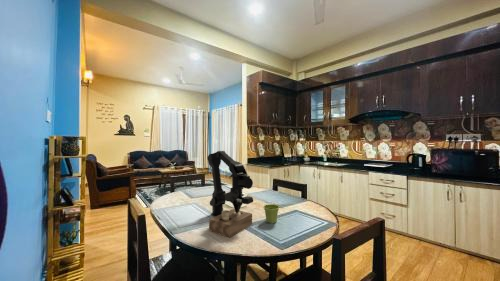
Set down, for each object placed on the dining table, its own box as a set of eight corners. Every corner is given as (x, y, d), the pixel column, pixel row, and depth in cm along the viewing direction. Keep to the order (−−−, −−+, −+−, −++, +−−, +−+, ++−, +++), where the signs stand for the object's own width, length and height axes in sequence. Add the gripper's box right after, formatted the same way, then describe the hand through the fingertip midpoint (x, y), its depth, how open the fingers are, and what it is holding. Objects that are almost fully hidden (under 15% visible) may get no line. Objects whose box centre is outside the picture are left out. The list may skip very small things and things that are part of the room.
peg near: (220, 221, 107) (220, 211, 107) (225, 219, 110) (225, 209, 111) (225, 223, 105) (225, 213, 105) (230, 220, 108) (230, 211, 108)
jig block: (209, 230, 108) (209, 219, 108) (233, 218, 124) (233, 208, 124) (229, 237, 100) (229, 225, 100) (252, 224, 116) (252, 213, 116)
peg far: (232, 222, 115) (232, 213, 115) (236, 219, 119) (236, 211, 119) (237, 223, 113) (237, 214, 113) (242, 221, 116) (242, 212, 116)
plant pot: (266, 225, 115) (266, 209, 115) (261, 219, 124) (261, 204, 124) (281, 223, 117) (281, 208, 117) (275, 217, 126) (275, 203, 126)
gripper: (215, 186, 115) (215, 213, 115) (241, 190, 104) (241, 221, 104) (228, 182, 124) (228, 208, 124) (253, 186, 113) (253, 214, 113)
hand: (237, 213), depth 116 cm, fingers closed, pressing on peg far
